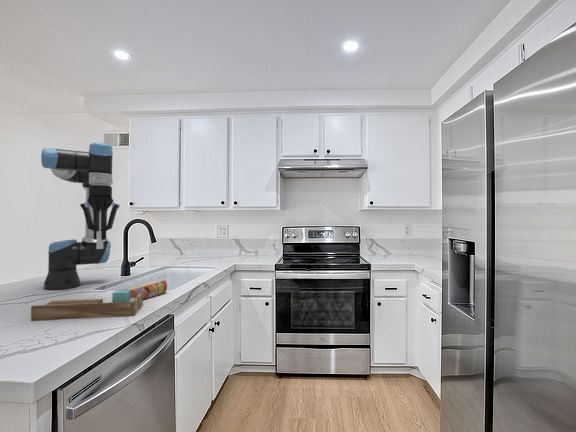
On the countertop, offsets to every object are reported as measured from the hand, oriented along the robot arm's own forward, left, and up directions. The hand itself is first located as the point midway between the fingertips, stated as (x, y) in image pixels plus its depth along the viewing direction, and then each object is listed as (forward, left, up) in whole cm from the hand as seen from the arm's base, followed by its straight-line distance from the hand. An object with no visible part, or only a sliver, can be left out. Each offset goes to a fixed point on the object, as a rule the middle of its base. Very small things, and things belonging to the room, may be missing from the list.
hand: (99, 248), depth 120 cm
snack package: (-22, +12, -25) cm, 35 cm away
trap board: (-4, -4, -24) cm, 25 cm away
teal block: (0, +7, -21) cm, 23 cm away
